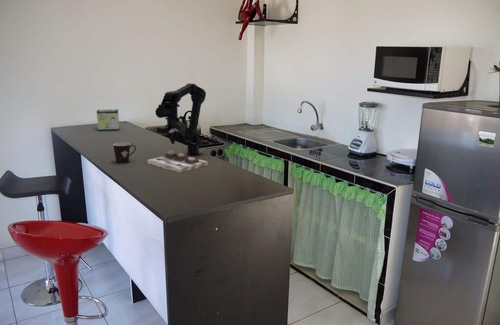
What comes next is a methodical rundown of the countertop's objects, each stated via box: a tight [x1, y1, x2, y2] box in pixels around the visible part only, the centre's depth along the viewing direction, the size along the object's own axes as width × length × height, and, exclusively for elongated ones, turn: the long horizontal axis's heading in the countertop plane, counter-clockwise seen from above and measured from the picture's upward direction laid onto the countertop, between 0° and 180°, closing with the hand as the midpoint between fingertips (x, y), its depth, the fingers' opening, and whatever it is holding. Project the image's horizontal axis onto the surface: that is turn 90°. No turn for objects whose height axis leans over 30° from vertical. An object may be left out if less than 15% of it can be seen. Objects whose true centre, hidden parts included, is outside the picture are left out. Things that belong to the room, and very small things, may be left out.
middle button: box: [177, 152, 186, 158], centre depth 208 cm, size 4×4×2 cm
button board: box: [146, 152, 209, 174], centre depth 206 cm, size 20×26×4 cm
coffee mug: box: [112, 142, 137, 164], centre depth 207 cm, size 12×9×10 cm
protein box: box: [96, 109, 120, 132], centre depth 297 cm, size 10×16×16 cm
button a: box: [167, 150, 176, 155], centre depth 213 cm, size 4×4×2 cm
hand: (173, 143), depth 211 cm, fingers closed
